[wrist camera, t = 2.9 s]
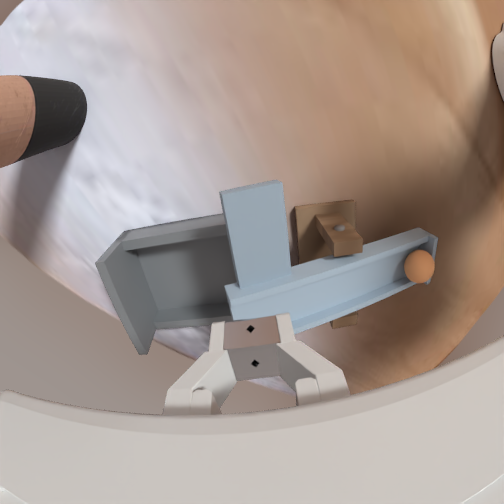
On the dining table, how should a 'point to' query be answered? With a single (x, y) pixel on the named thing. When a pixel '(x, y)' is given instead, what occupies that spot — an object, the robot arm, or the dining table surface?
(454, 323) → the dining table surface
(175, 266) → the tray
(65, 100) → the travel mug
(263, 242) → the lever
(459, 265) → the dining table surface
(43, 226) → the dining table surface
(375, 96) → the dining table surface
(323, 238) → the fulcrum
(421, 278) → the ball
